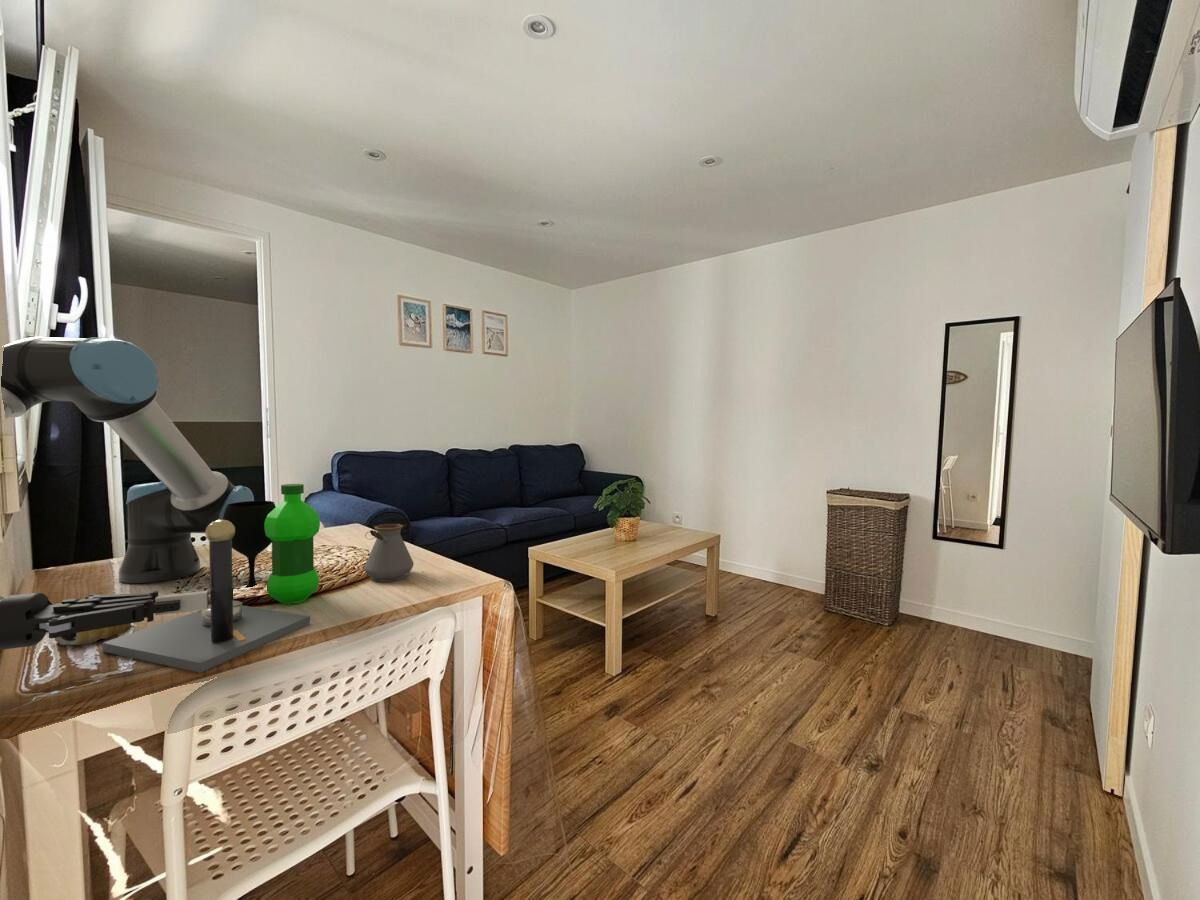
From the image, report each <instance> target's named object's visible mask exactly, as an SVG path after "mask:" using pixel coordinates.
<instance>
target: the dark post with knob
mask: <svg viewBox="0 0 1200 900" xmlns="http://www.w3.org/2000/svg"><path fill="white" fill-rule="evenodd" d="M204 534H205V537H206V539H207V540H208V543H209V545H208V546H209V547H208V548H209V599H210V600H209V601H210V602H209V607H208V608H207V609H205V610H202V624H203V625H207V626H211V641H212V642H222V641H226V640H229V639H231V638H233V622H234V621H237V620H239V619H240V618H242V605H243V602H242V601H240V600H239V601H238V600H234V599H233V588H234V587H233V548H232V538H233V536H234V534H235V527H234V525H233V524H232V523H231V522H229V521H227V520H216V521H214V522H212V523H210V524H209V525H208V526H207V528H206V531H205V533H204Z"/></svg>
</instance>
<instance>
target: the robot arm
mask: <svg viewBox="0 0 1200 900" xmlns="http://www.w3.org/2000/svg"><path fill="white" fill-rule="evenodd" d="M3 346H4V351H3V364H2V365H3V366H2V376H1V393H2V400H3V404H4V411H5V418H6V421H7V420H8V419H10V418H19V417H22V416H24V414H26V413H27V412H28V411H29V410H30V409H31V408H33V407H34V406H37V405H39V404H43V403H46V402H56V401H57V402H71V403H74V405H75V406H77V408H78V409H79V410H80V411H81V412H82V413H83V415H85V416H86V417H87V418H88V419H89V420H91V421H93V422H99V423H106V424H107V425H108V426H109V427H110V428H111V429H112V430H113V431H114V432H115V434H116V435H117V436H118V437H119V438H120V439H121V440H122V442H124V443H125V444H126V445H127V446H128V447H129V449H130V450H131V451H132V452H133V453H134V454H135V455H136V456H137V457H138V459H140V460H141V461H142V463H143V464H145V466H146V467H147V468H148V469H149V470H150V471H151V472H152V473H153V474H154V475H155V477H157V478H158V480H159V481H158V482H147V483H141V484H133V486H130V487H129V488H128V490H127V495H126V502H125V505H126V524H127V549H126V551H125V554H124V557H123V558H122V559H123V560H122V562H121V564H120V567H119V570H118V580H119V582H121V583H126V584H147V583H157V582H164V581H169V580H175V579H180V578H184V577H187V576H190V575H193V574H196V573H198V572H199V571H200V570H201V559H200V557H199V556H198V552H197V551H196V548H195V546H194V544H193V542H192V537H191V536H192V534H205V531H206V528H207V526H208V525H209V524H210V523H212V522H214V521H216V520H223V516H224V512H225V509H226V506H227V505H228V504H231V503H237V502H246V501H255V499H254V498H255V497H254V494H253V491H252V490H251V489H250V488H249V487H246V486H243V485H237V486H236V485H234V484H232V482H231V481H230V480H229V479H228V477H227V476H226V475H225V474H223V473H222V472H219V471H212V470H211V468H210V467H209V466H208V464H207V463H206V461H205V460H204V459H203V458H202V457H201V456H200V455H199V453H198V451H196V450H195V448H194V447H193V446H192V445H191V443H190V442H189V441H188V439H186V437H185V436H184V435H183V433H181V431H180V429H178V428H177V426H176V425H175V423H174V422H173V421H172V420H171V418H170V417H169V416H168V415H167V414H166V412H165V411H164V410H163V408H161V406H160V405H159V404H158V402H157V401H156V399H157V397H158V393H159V391H158V386H159V380H160V377H159V376H157V375H156V374H158V368H157V366H156V363H155V362H154V360H153V359H152V358H151V357H150V356H149V354H148V353H147V352H146V351H145V350H143V349H142V348H141V347H139V346H137V345H136V344H134V343H132V342H130V341H129V342H128V341H126V340H122V339H115V338H114V339H111V338H109V337H100V336H99V337H98V336H97V337H96V336H95V337H87V338H79V337H77V338H75V337H50V336H34V337H33V336H32V337H27V338H22V339H19V340H16V341H13V342H11V343H8V344H5V345H3ZM4 388H5V389H4ZM209 599H210V593H209V590H203V591H202V590H201V591H193V592H184V593H172V594H165V595H164V594H163V595H159V590H154V591H152V592H141V593H140V592H139V593H137V592H136V593H117V594H115V593H114V594H96V593H95V594H93V593H90V594H87V595H85V596H84V598H83V599H80V598H68V599H63V600H61V602H58V603H52V602H51V601H50V600H49V597H48V596H47V595H46V594H44V593H42V592H30V593H20V594H10V595H7V596H5V597H4V596H1V595H0V650H2V651H4V650H12V649H19V648H26V647H33V646H36V645H37V644H39V643H40V642H41V641H42V640H43V639H44V638H45V636H46V634H47V633H48V639H55V638H57V637H61V636H65V635H69V634H73V633H78V632H84V631H90V630H95V629H101V628H107V627H113V626H118V625H124V624H130V623H131V624H134V623H142V622H144V621H145V619H146V618H147V619H146V620H147V623H151V622H153V621H154V618H155V617H154V616H162V615H170V614H179V613H186V612H187V613H188V612H197V611H200V610H205V609H207V608H208V607H209V605H210V602H209V601H210V600H209Z"/></svg>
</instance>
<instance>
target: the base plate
mask: <svg viewBox="0 0 1200 900" xmlns="http://www.w3.org/2000/svg"><path fill="white" fill-rule="evenodd" d="M308 625H311V615H305V614H300V613H299V614H298V613H292V612H288V611H286V612H285V611H281V610H274V609H267V608H262V607H261V608H260V607H257V606H248V605H243V604H242V618H240V619H239V620H237V621H234V622H233V638H231V639H229V640H226V641H222V642H212V641H211V626H207V625H203V624H202V610H197V611H193V612H191V613H189V614H184V615H183V616H180V617H179V616H178V617H176V618H173V619H170V620H168V621H165V622H160V623H158V624H155V625H152V626H149V627H145V628H143V629H141V630H137V631H134V632H131V633H127V634H125V635H122V636H119V637H116V638H113V639H110V640H107V641H104V642H102V652H103V653H108V654H112V655H117V656H121V657H124V658H130V659H135V660H140V661H144V662H145V661H146V662H148V663H152V664H158V665H161V666H163V665H164V666H166V667H172V668H177V669H181V670H186V671H191V672H194V673H203V672H205V671H208V670H210V669H212V668H215V667H217V666H219V665H221V664H224V663H225V662H229V661H230V660H233V659H234V658H237V657H239V656H241V655H243V654H247V653H248V652H251V651H252V650H255V649H257V648H259V647H262V646H264V645H266V644H269V643H270V642H272V641H275V640H277V639H280V638H281V637H283V636H286V635H288V634H291V633H293V632H295V631H297V630H299V629H302V628H304V627H306V626H308Z"/></svg>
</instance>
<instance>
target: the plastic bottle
mask: <svg viewBox="0 0 1200 900" xmlns="http://www.w3.org/2000/svg"><path fill="white" fill-rule="evenodd" d="M304 486H305V485H304V483H287V484H286V483H285V484H281V485H280V492H281V493H280V494H281V495H283V501H282V502H281V503H279V504H278V505H277V506H276V508H275V509H273V510H272V511H271V512H270V513H269V514H268V515H267V517H266V520H265V523H264V530H265V534H266V536H267V537H268V538H269V539H271V540H272V543H271V573H270V575H269V577H268V579H267V582H266V583H267V591H268V593H269V594H268V595H269V597H271V598H272V599H273V600H274V601H275V600H276V601H277V602H279V604H281V605H282V604H283V605H292V604H298V603H303V602H304V601H306V600H308V598H310V596H311V595H312V594H314V593H315V592H316V590H317V589H318V586H319V582H320V581H319V580H320V578H319V574H318V573H317V570H316V569H315V567H314V566H315V565H314V564H315V563H314V560H315V558H314V556H315V555H314V553H315V552H314V537H315V536H316V535H317V533H319V531H320V526H321V518H320V516H319V514H318V513H319V512H318V511H317V510H316V509H314V508H313V507H311V505H309V504H307V503H306V502H305V501H303V500H302V494H304V493H305V492H304V489H305V488H304Z"/></svg>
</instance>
